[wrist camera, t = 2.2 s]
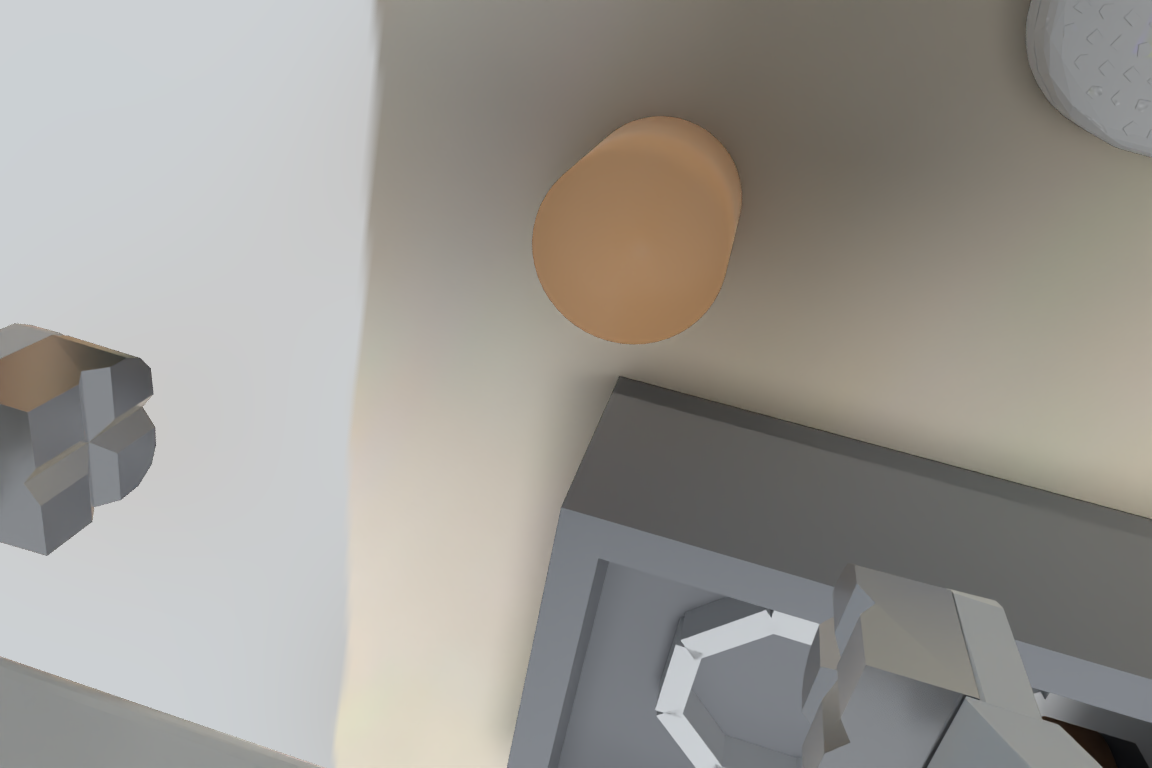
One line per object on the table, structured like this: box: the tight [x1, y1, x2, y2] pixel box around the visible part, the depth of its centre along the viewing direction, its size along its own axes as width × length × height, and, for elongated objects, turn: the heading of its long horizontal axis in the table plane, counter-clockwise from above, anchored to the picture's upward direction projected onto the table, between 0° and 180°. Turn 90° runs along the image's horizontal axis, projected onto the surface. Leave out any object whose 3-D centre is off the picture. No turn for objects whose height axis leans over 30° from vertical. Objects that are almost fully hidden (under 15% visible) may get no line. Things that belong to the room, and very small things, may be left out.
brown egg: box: [532, 116, 742, 344], centre depth 19 cm, size 4×4×4 cm
